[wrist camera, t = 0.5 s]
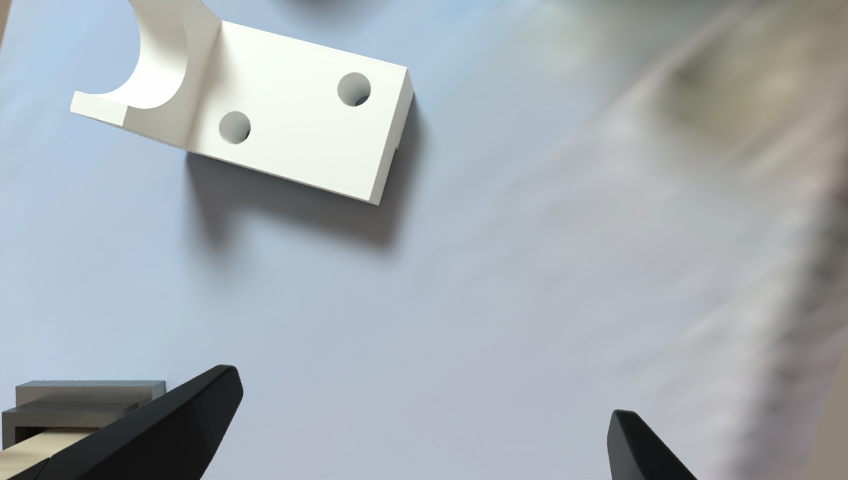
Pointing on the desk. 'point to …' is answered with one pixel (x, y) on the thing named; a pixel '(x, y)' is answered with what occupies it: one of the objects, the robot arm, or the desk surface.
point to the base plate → (73, 405)
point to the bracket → (259, 100)
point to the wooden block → (38, 449)
